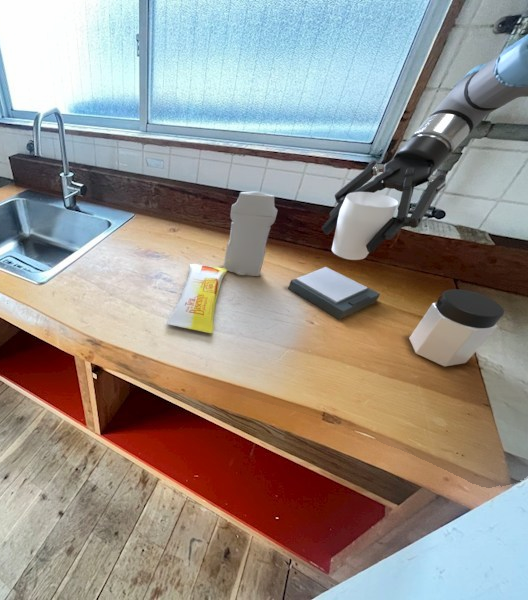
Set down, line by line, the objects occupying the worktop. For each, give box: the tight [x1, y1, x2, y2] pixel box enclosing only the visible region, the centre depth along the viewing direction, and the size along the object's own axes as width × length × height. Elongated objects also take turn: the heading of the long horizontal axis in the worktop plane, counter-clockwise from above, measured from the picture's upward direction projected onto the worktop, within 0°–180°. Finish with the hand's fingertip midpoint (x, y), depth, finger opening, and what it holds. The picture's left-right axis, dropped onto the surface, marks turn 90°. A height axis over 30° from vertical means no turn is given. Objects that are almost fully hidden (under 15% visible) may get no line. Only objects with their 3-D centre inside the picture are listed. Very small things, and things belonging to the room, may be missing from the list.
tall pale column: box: [222, 191, 279, 277], centre depth 82 cm, size 11×4×22 cm, turn 66°
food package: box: [166, 263, 228, 334], centre depth 79 cm, size 27×2×10 cm
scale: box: [288, 266, 381, 320], centre depth 78 cm, size 14×13×3 cm
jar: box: [408, 288, 505, 367], centre depth 59 cm, size 9×8×12 cm
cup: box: [331, 192, 399, 261], centre depth 67 cm, size 9×9×12 cm
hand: (345, 239), depth 67 cm, fingers closed on cup, 9 cm apart
